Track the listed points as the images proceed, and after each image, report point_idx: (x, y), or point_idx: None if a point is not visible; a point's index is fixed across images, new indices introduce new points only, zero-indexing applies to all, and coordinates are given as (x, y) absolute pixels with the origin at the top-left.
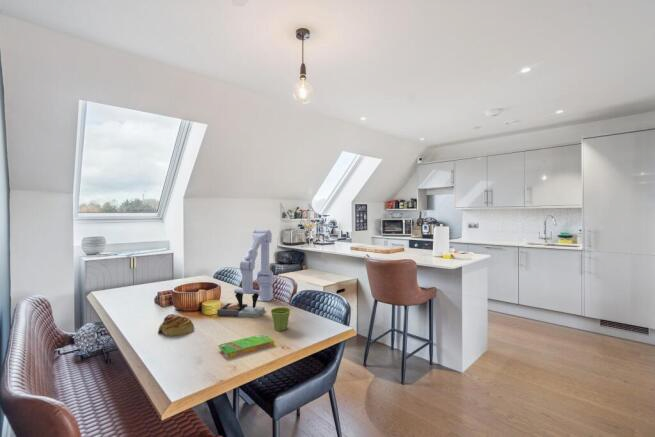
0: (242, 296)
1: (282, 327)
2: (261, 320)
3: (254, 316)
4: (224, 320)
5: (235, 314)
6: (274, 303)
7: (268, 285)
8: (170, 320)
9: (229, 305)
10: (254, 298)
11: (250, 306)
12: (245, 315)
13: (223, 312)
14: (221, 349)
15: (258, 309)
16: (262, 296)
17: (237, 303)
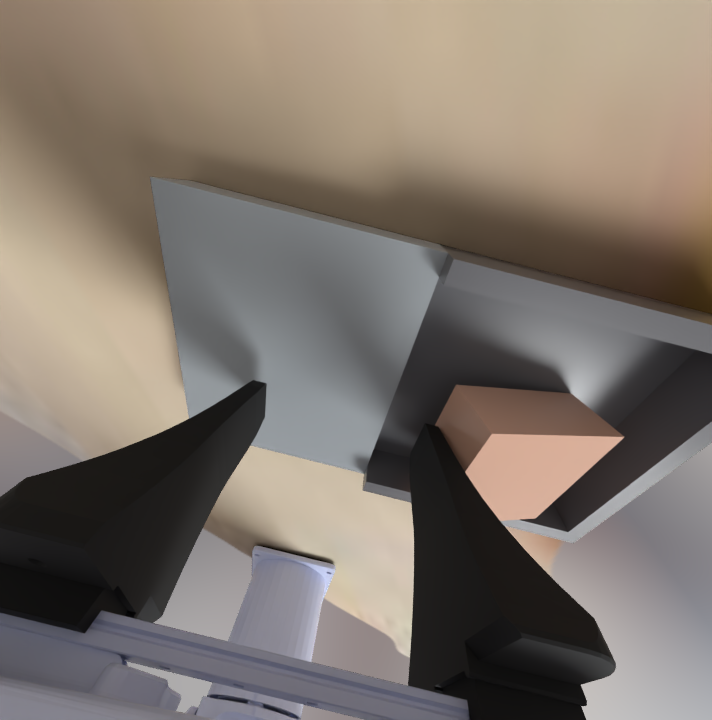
0: (416, 599)
1: None
2: (56, 25)
3: (206, 186)
4: (686, 31)
5: (483, 257)
6: (210, 514)
7: (208, 709)
8: None
9: (573, 482)
10: (107, 467)
11: (330, 457)
12: (334, 220)
13: (680, 312)
14: None
15: (212, 365)
16: (292, 592)
17: (478, 479)
